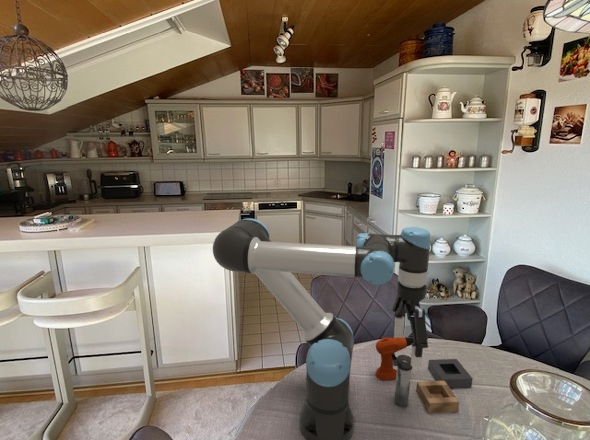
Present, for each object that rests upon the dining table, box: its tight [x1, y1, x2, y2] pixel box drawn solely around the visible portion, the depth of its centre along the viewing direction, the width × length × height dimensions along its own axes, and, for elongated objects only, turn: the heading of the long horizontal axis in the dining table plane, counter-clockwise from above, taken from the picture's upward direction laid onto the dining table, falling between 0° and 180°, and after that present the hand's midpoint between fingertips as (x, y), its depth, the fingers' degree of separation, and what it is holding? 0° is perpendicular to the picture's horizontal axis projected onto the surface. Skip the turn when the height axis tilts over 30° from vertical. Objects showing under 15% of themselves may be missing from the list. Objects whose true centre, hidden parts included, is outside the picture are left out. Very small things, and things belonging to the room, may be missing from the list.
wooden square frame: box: [415, 380, 460, 414], centre depth 104 cm, size 9×9×4 cm
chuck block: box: [427, 358, 474, 390], centre depth 114 cm, size 10×10×4 cm
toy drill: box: [375, 336, 429, 381], centre depth 114 cm, size 5×19×15 cm, turn 97°
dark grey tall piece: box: [392, 354, 414, 409], centre depth 102 cm, size 7×5×15 cm, turn 93°
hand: (406, 350), depth 99 cm, fingers open, 13 cm apart
